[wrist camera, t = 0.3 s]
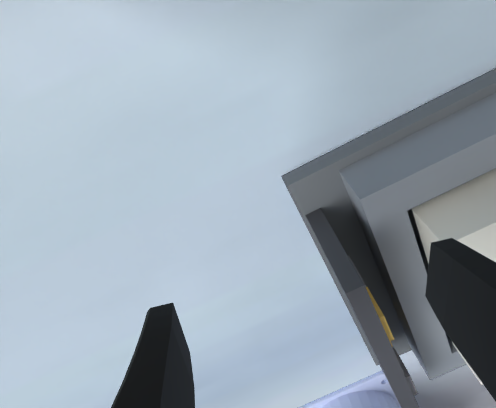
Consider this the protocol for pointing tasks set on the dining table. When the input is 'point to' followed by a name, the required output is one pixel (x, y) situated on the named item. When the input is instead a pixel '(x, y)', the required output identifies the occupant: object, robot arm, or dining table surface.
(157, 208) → the dining table surface
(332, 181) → the button board
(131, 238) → the dining table surface
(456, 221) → the button
